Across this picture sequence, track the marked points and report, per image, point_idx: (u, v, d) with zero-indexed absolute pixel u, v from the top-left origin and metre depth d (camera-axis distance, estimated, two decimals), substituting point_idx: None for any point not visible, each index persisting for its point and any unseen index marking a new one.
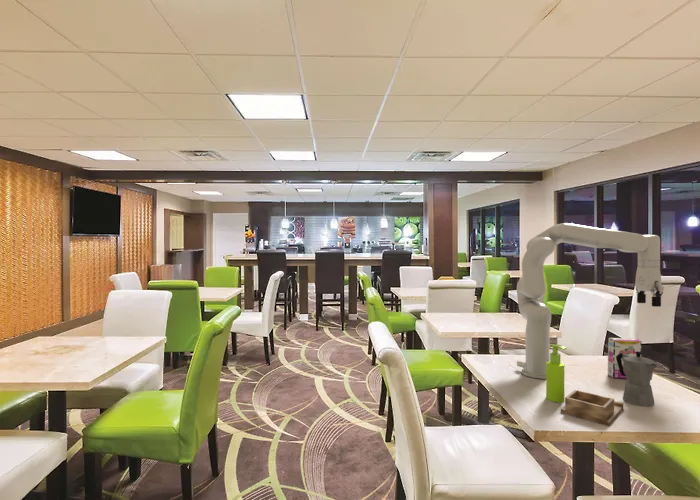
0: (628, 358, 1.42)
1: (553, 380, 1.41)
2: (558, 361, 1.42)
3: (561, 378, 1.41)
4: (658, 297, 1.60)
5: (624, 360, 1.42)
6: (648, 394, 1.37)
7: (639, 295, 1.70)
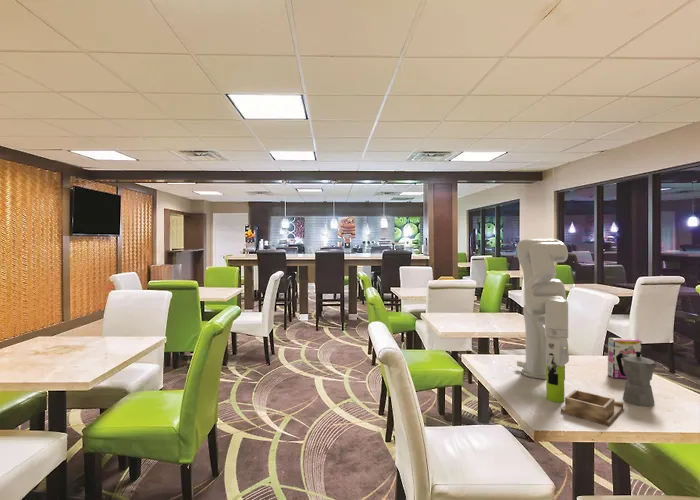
0: (628, 358, 1.42)
1: None
2: None
3: (561, 378, 1.41)
4: None
5: (624, 360, 1.42)
6: (648, 394, 1.37)
7: None
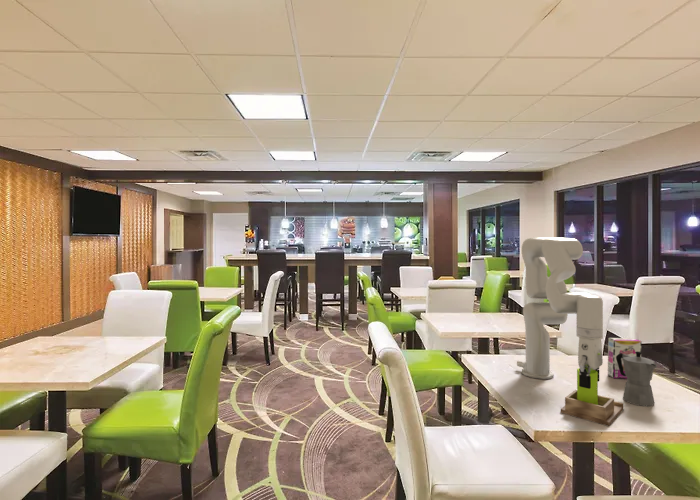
0: (628, 358, 1.42)
1: (586, 389, 1.29)
2: (591, 368, 1.30)
3: (595, 387, 1.29)
4: None
5: (624, 360, 1.42)
6: (648, 394, 1.37)
7: None
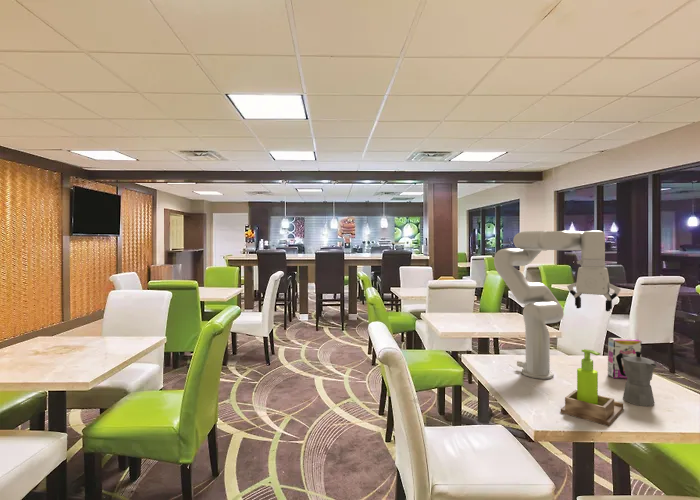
0: (628, 358, 1.42)
1: (586, 389, 1.29)
2: (591, 368, 1.30)
3: (595, 387, 1.29)
4: (611, 300, 1.43)
5: (624, 360, 1.42)
6: (648, 394, 1.37)
7: (578, 299, 1.49)
